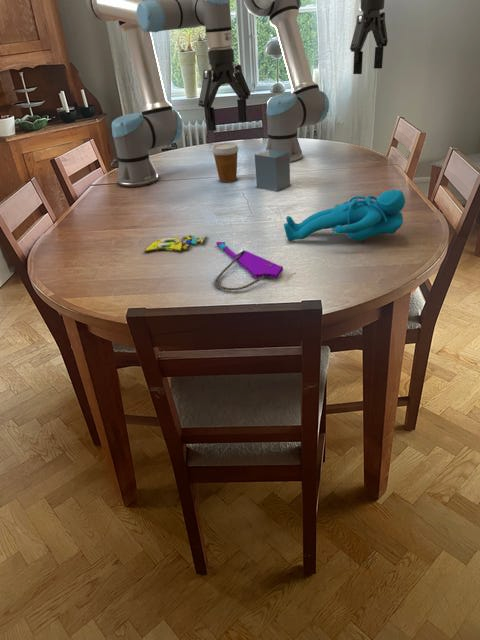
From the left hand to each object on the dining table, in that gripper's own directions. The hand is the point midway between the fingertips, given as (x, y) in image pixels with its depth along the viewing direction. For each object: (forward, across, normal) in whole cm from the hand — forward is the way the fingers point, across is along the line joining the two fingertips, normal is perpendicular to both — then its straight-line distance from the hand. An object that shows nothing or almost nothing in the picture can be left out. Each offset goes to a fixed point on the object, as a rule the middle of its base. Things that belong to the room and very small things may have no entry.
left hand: (227, 125), depth 151 cm
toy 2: (+23, -11, -50) cm, 56 cm away
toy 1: (+22, -39, -16) cm, 48 cm away
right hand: (-9, +49, -20) cm, 54 cm away
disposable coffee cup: (+22, +10, +13) cm, 27 cm away
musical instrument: (+23, -40, -40) cm, 61 cm away
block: (+22, +13, -6) cm, 26 cm away
